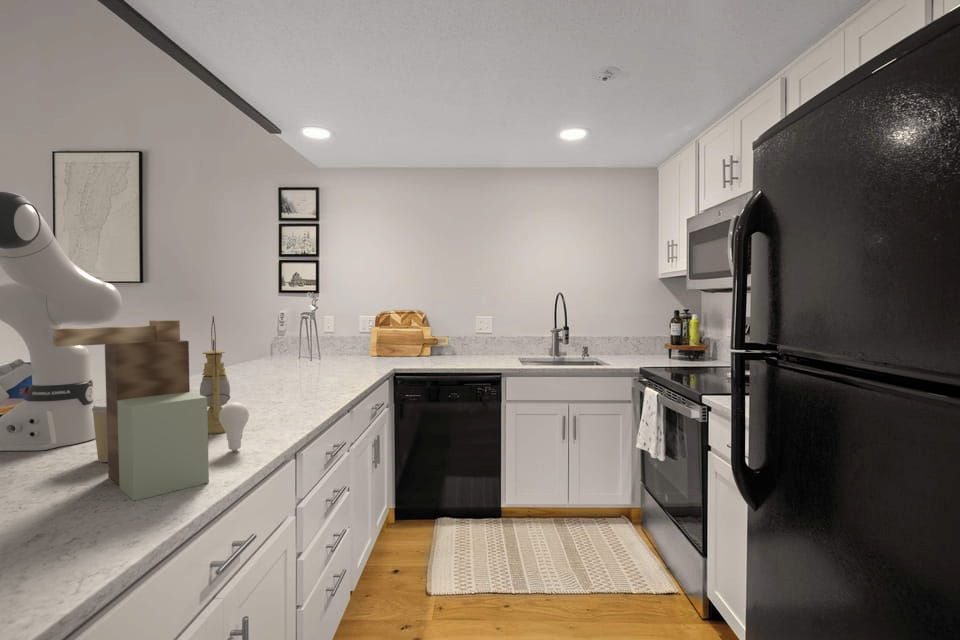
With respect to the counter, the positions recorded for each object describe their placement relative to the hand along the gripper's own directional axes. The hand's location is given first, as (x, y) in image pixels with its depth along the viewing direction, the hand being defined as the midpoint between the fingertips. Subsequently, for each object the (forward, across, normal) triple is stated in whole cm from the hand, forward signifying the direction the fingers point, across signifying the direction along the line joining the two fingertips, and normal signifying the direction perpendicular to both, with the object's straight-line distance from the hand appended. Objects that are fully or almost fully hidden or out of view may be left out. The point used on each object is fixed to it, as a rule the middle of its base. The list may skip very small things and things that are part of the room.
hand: (28, 364), depth 88 cm
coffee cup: (+2, +18, +29) cm, 34 cm away
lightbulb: (+19, +4, +38) cm, 43 cm away
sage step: (+4, -9, +29) cm, 30 cm away
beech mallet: (+13, 0, +4) cm, 13 cm away
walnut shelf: (+4, 0, +29) cm, 29 cm away
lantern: (+22, +28, +40) cm, 54 cm away
